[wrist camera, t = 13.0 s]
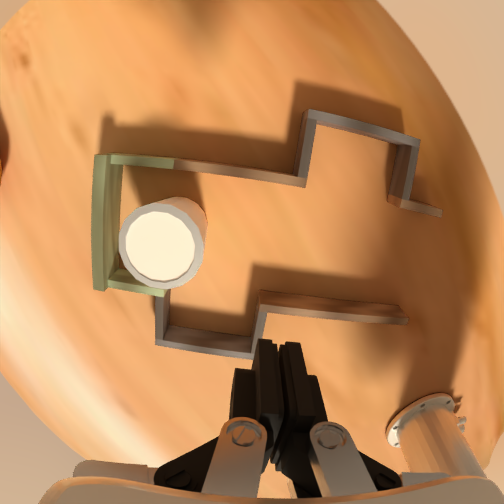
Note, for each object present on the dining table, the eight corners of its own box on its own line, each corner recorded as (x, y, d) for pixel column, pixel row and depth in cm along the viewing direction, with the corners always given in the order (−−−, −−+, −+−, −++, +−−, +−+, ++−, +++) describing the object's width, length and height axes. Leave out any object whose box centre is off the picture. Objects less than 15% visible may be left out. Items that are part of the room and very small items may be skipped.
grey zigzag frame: (438, 150, 27) (460, 153, 23) (379, 352, 34) (391, 372, 30) (121, 94, 25) (103, 88, 21) (111, 319, 33) (98, 338, 29)
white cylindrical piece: (217, 257, 30) (208, 288, 24) (150, 261, 30) (126, 291, 24) (211, 186, 28) (198, 198, 21) (140, 193, 28) (110, 207, 22)
